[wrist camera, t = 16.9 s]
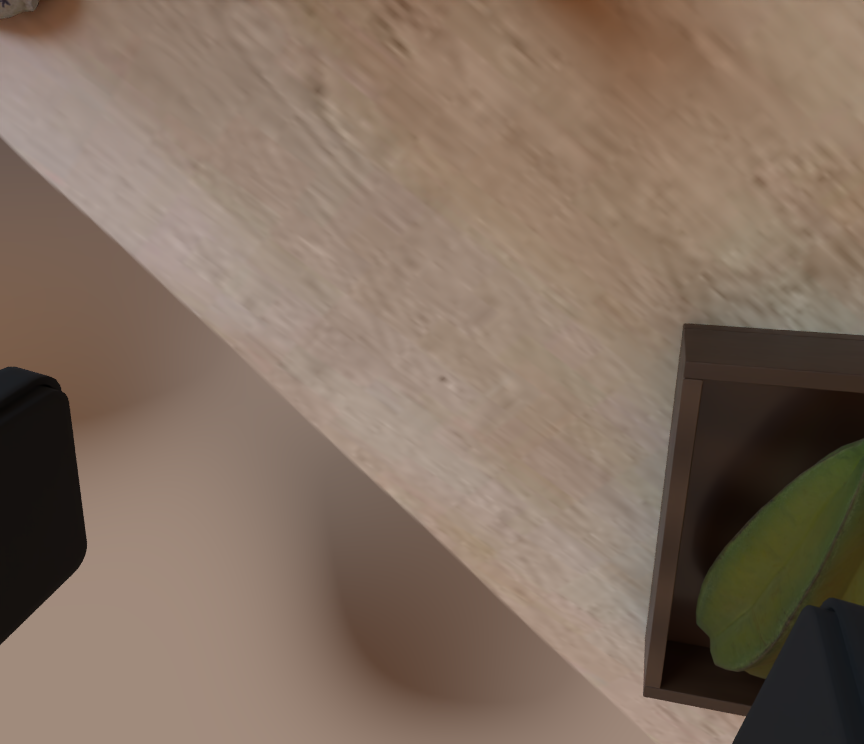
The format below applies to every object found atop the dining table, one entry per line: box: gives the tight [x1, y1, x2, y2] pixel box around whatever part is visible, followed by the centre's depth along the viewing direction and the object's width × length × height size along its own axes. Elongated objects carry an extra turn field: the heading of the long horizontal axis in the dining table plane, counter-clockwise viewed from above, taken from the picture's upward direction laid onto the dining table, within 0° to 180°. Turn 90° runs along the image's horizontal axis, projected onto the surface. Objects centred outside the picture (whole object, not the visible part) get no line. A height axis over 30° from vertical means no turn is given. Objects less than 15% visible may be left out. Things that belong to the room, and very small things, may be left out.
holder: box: [643, 324, 864, 716], centre depth 35 cm, size 20×13×4 cm, turn 3°
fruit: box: [696, 438, 864, 679], centre depth 34 cm, size 11×12×7 cm
